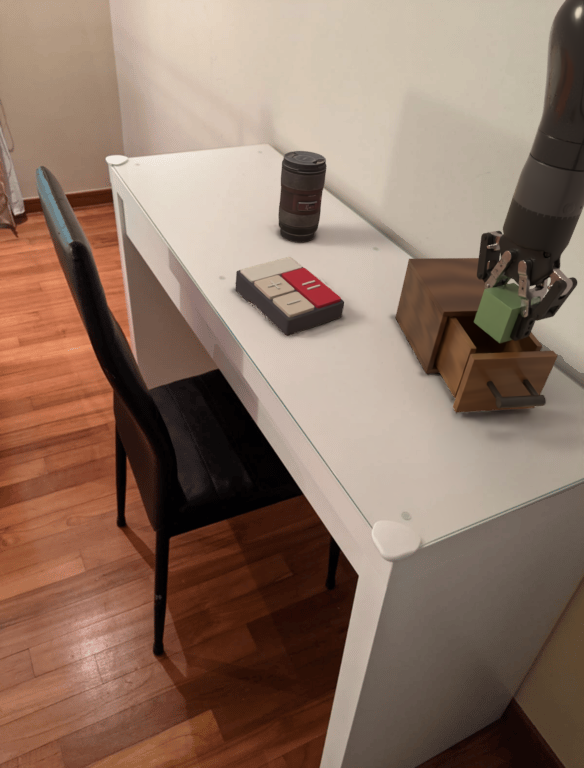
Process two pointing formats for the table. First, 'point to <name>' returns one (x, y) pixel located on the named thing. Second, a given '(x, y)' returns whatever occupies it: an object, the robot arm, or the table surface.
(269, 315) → the calculator
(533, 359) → the drawer
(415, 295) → the cabinet
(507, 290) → the block
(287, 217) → the camera lens
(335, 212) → the table surface
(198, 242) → the table surface
